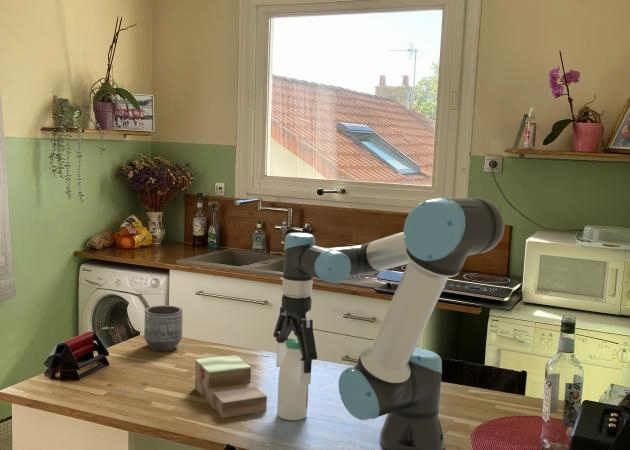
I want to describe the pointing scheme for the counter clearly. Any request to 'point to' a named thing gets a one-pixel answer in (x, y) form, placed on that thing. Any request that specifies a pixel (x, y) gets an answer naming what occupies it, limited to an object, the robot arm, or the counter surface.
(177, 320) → the planter
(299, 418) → the milk bottle
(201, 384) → the plinth
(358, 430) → the counter surface
